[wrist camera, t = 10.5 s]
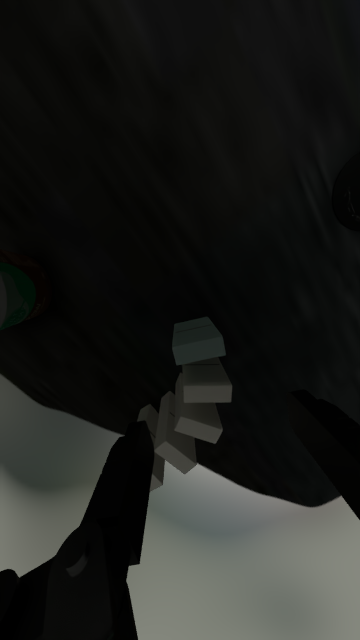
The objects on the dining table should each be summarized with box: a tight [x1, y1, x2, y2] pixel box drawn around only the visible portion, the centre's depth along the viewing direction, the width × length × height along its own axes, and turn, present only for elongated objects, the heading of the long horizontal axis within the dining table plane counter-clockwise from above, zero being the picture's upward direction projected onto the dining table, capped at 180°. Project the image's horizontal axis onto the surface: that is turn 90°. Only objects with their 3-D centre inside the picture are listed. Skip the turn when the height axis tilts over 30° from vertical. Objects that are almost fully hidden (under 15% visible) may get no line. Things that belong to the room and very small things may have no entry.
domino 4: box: [182, 357, 232, 403], centre depth 23 cm, size 2×5×9 cm, turn 91°
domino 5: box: [174, 373, 223, 444], centre depth 24 cm, size 2×5×9 cm, turn 68°
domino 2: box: [154, 391, 197, 474], centre depth 25 cm, size 2×5×9 cm, turn 46°
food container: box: [0, 249, 52, 330], centre depth 20 cm, size 12×6×10 cm, turn 142°
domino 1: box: [137, 404, 165, 491], centre depth 25 cm, size 2×5×9 cm, turn 35°
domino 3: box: [172, 317, 226, 365], centre depth 21 cm, size 2×5×9 cm, turn 103°
